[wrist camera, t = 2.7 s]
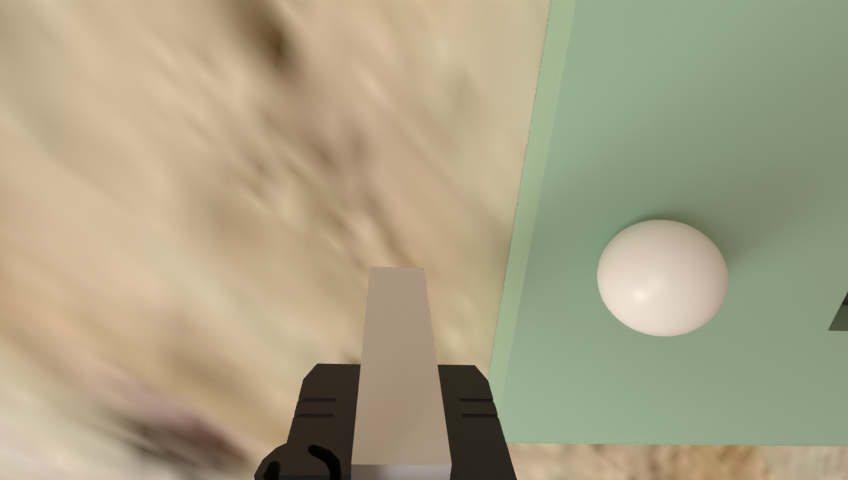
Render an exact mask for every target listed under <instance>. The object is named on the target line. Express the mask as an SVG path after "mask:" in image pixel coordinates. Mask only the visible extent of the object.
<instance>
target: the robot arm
mask: <svg viewBox="0 0 848 480" xmlns="http://www.w3.org/2000/svg"><path fill="white" fill-rule="evenodd" d="M254 478H255V480H517V478H516V475H515V472H514V469H513V465H512V462H511V458H510V455H509V451H508V448H507V444H506V441H505V437H504V434H503V430H502V427H501V423H500V420H499V418H498V413H497V409H496V406H495V403H494V402H493V396H492V392H491V389H490V385H489V382H488V380H487V379H486V378H485V377H484V375H483V374H482V373H481V372H480V371H479V370H478V368H477V367H476V366H475V365H437V358H436V351H435V344H434V338H433V331H432V324H431V317H430V310H429V303H428V296H427V289H426V282H425V275H424V269H417V268H392V267H370V275H369V285H368V296H367V306H366V317H365V327H364V337H363V348H362V358H361V365H359V364H317V365H316V366H315V367H314V368H313V369H312V370H311V371H310V372H309V374H308V375H307V376H306V377H305V378H304V379H303V383H302V387H301V391H300V394H299V400H298V402H297V406H296V410H295V413H294V418H293V421H292V425H291V429H290V432H289V436H288V440H287V443H286V444H284V445H281V446H279V447H277V448H276V449H274V450H273V451H272V452H271V453H270V454H269V455H268V456H267V457H265V458H264V459H263V460H262V462H261V464H260V466H259V467H258V469H257V471H256V473H255V475H254Z"/></svg>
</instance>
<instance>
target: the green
mask: <svg viewBox="0 0 848 480" xmlns="http://www.w3.org/2000/svg"><path fill="white" fill-rule="evenodd" d="M649 220H671V221H676V222H680V223H684V224H686V225H689V226H691V227H693V228H695V229H697V230H699V231H700V232H702V233H703V234H704V235H706V236H707V237H708V238H709V239H710V240H711V241H712V242H713V243H714V244H715V246H716V247H717V248H718V249H719V251H720V253H721V255H722V257H723V259H724V261H725V264H726V268H727V272H728V288H727V293H726V296H725V299H724V302H723V304H722V306H721V307H720V309H719V310H718V312H717V313H716V314H715V315H714V316H713V318H712V319H710V320H709V321H708V322H707V323H706V324H704V325H703V326H701V327H700V328H698V329H696V330H694V331H692V332H689V333H686V334H682V335H677V336H665V337H664V336H653V335H648V334H644V333H641V332H638V331H636V330H634V329H632V328H630V327H628V326H626V325H625V324H623V323H622V322H621V321H619V320H618V319H617V318H616V317H615V316H614V315H613V314H612V313H611V312H610V311H609V309H608V308H607V306H606V305H605V303H604V302H603V299H602V297H601V295H600V292H599V288H598V283H597V269H598V263H599V260H600V257H601V255H602V253H603V251H604V249H605V247H606V246H607V245H608V243H609V242H610V241H611V240H612V239H613V238H614V237H615V236H616V235H617V234H618V233H620V232H621V231H623V230H624V229H626V228H628V227H630V226H632V225H634V224H637V223H640V222H644V221H649ZM488 382H489V385H490V389H491V392H492V396H493V402H494V403H495V406H496V409H497V413H498V418H499V420H500V423H501V427H502V430H503V434H504V437H505V441H506V443H555V444H666V445H777V446H848V0H552V2H551V8H550V14H549V20H548V26H547V32H546V38H545V44H544V49H543V55H542V61H541V67H540V73H539V79H538V85H537V91H536V97H535V103H534V109H533V115H532V121H531V127H530V133H529V139H528V145H527V151H526V157H525V163H524V169H523V175H522V181H521V186H520V192H519V198H518V204H517V210H516V216H515V222H514V228H513V234H512V240H511V246H510V252H509V258H508V264H507V270H506V276H505V282H504V288H503V294H502V300H501V306H500V312H499V317H498V323H497V329H496V335H495V341H494V347H493V353H492V359H491V365H490V371H489V377H488Z"/></svg>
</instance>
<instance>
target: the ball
mask: <svg viewBox="0 0 848 480" xmlns="http://www.w3.org/2000/svg"><path fill="white" fill-rule="evenodd" d="M597 283H598V288H599V292H600V295H601V297H602V299H603V302H604V303H605V305H606V306H607V308H608V309H609V311H610V312H611V313H612V314H613V315H614V316H615V317H616V318H617V319H618V320H619V321H621V322H622V323H623V324H625V325H626V326H628V327H630V328H632V329H634V330H636V331H638V332H641V333H644V334H648V335H653V336H664V337H665V336H677V335H682V334H686V333H689V332H692V331H694V330H696V329H698V328H700V327H701V326H703V325H704V324H706V323H707V322H708V321H709V320H710V319H712V318H713V316H714V315H715V314H716V313H717V312H718V310H719V309H720V307H721V306H722V304H723V302H724V299H725V296H726V293H727V288H728V272H727V268H726V264H725V261H724V259H723V257H722V255H721V253H720V251H719V249H718V248H717V247H716V246H715V244H714V243H713V242H712V241H711V240H710V239H709V238H708V237H707V236H706V235H704V234H703V233H702V232H700V231H699V230H697V229H695V228H693V227H691V226H689V225H686V224H684V223H680V222H676V221H671V220H649V221H644V222H640V223H637V224H634V225H632V226H630V227H628V228H626V229H624V230H623V231H621V232H620V233H618V234H617V235H616V236H615V237H614V238H613V239H612V240H611V241H610V242H609V243H608V245H607V246H606V247H605V249H604V251H603V253H602V255H601V257H600V260H599V263H598V269H597Z"/></svg>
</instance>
